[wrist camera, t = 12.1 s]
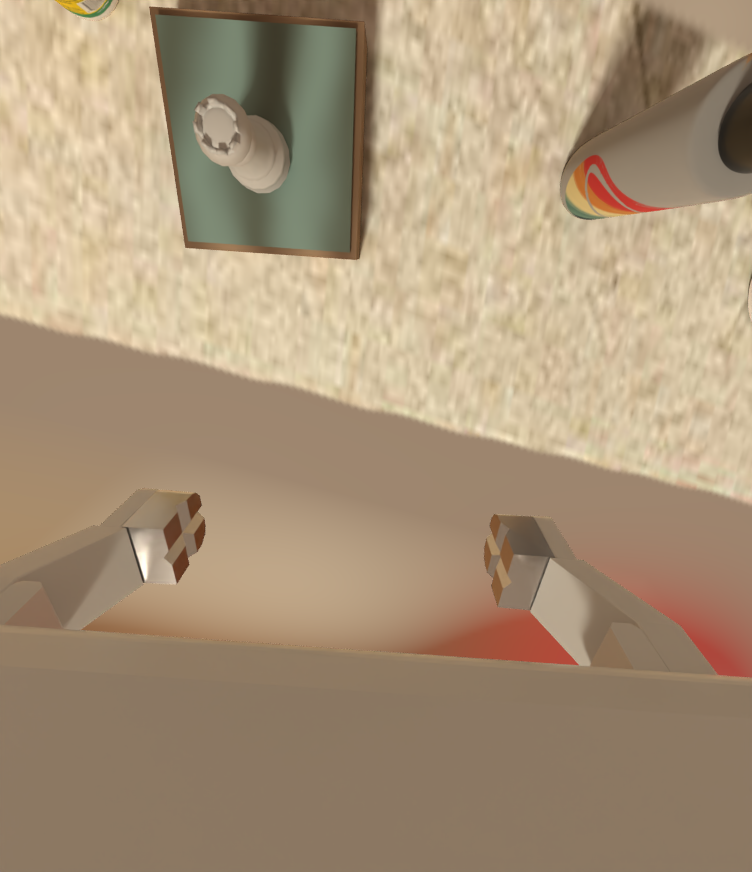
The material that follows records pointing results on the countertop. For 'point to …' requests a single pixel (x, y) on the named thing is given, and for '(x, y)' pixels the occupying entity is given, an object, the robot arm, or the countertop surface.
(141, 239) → the countertop surface
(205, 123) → the rook chess piece
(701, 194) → the lotion bottle
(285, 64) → the walnut plinth
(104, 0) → the supplement bottle
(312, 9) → the countertop surface
